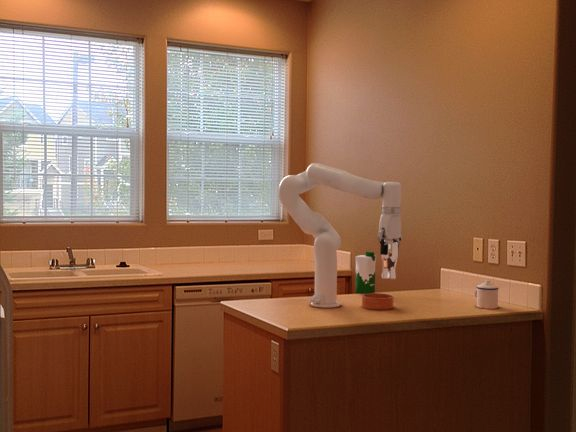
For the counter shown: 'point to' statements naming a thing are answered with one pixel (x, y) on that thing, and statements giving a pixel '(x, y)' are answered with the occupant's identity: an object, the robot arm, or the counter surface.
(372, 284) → the milk carton
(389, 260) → the beer glass
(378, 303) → the bowl
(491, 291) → the teacup with lid
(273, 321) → the counter surface
